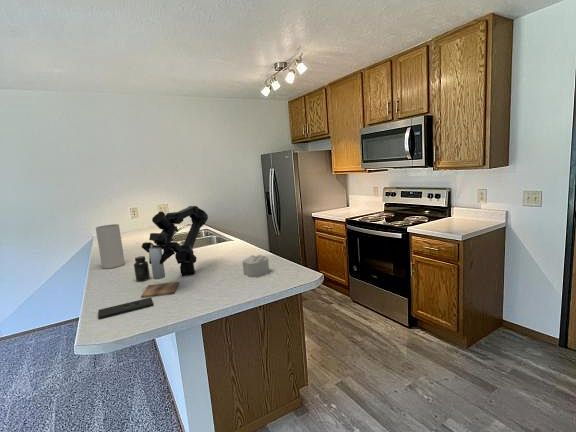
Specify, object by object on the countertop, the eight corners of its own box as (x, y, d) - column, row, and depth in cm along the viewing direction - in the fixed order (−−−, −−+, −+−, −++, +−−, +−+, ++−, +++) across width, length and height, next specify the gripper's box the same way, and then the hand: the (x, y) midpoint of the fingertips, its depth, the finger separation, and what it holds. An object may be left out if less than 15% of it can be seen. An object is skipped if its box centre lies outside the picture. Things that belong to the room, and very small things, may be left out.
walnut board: (178, 283, 159) (178, 281, 159) (174, 293, 146) (173, 291, 145) (148, 287, 157) (148, 285, 157) (141, 298, 143) (140, 295, 143)
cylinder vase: (123, 266, 197) (117, 226, 193) (100, 270, 192) (93, 229, 188) (125, 261, 208) (120, 223, 204) (103, 265, 204) (97, 226, 200)
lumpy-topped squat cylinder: (241, 273, 167) (240, 257, 166) (262, 267, 175) (261, 252, 173) (251, 278, 159) (250, 261, 157) (273, 271, 166) (272, 255, 165)
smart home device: (153, 303, 133) (97, 316, 124) (154, 307, 134) (98, 321, 124) (151, 296, 141) (98, 309, 131) (151, 300, 141) (99, 313, 131)
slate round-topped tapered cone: (164, 274, 154) (160, 246, 152) (165, 277, 149) (161, 248, 147) (153, 277, 152) (148, 248, 149) (153, 280, 147) (149, 250, 145)
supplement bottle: (153, 277, 172) (150, 255, 170) (144, 281, 165) (140, 259, 163) (142, 276, 174) (139, 255, 172) (133, 281, 167) (129, 259, 165)
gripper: (141, 226, 153) (127, 255, 144) (175, 225, 148) (163, 255, 139) (154, 238, 162) (142, 266, 153) (187, 237, 156) (176, 267, 148)
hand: (155, 263), depth 148 cm, fingers closed on slate round-topped tapered cone, 5 cm apart
